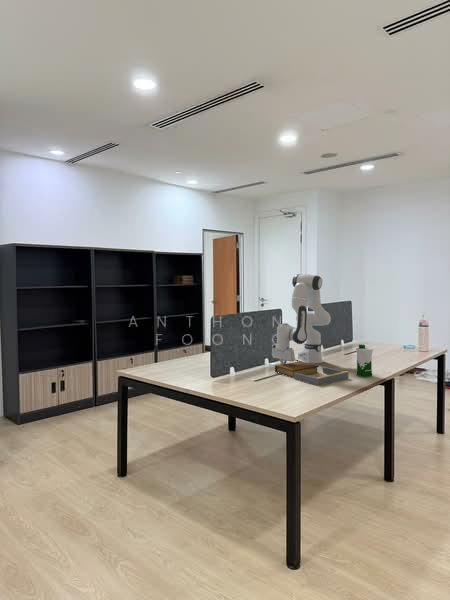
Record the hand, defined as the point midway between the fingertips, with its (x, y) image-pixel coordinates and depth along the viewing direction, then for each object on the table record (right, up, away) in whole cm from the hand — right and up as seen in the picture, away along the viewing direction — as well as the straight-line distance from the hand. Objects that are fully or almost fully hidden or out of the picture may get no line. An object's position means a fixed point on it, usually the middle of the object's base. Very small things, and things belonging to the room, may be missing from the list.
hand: (283, 365), depth 297 cm
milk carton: (+50, -3, -22) cm, 55 cm away
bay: (+20, -4, -28) cm, 35 cm away
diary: (+8, -4, -11) cm, 14 cm away
